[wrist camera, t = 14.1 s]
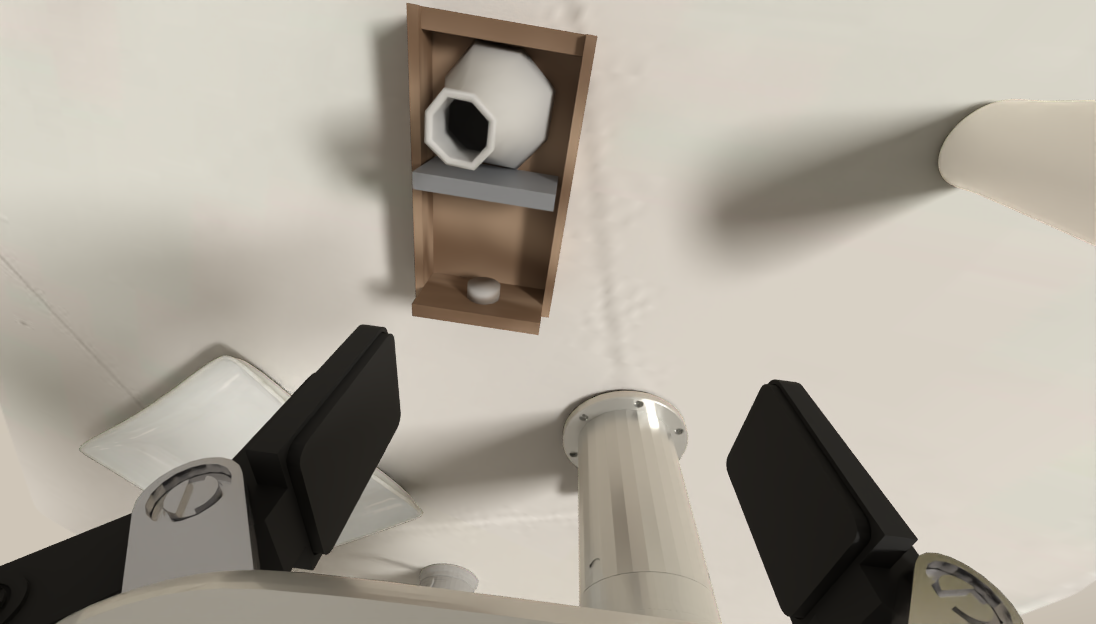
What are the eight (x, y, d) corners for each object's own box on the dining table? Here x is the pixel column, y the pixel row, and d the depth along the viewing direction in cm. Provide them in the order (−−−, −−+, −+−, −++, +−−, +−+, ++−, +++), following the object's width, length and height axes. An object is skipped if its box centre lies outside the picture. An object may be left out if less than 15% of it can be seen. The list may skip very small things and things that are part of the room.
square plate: (105, 425, 47) (69, 453, 43) (253, 329, 38) (222, 354, 35) (289, 543, 58) (272, 572, 55) (435, 490, 49) (425, 520, 46)
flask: (523, 186, 28) (499, 240, 20) (426, 131, 27) (356, 163, 18) (576, 83, 25) (575, 94, 16) (468, 13, 23) (405, -15, 15)
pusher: (556, 191, 28) (553, 211, 24) (436, 171, 28) (412, 189, 24) (558, 176, 27) (555, 195, 23) (435, 156, 27) (412, 171, 23)
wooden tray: (550, 295, 34) (546, 336, 29) (429, 276, 34) (403, 314, 28) (594, 39, 24) (599, 32, 19) (427, 10, 24) (387, -5, 19)
